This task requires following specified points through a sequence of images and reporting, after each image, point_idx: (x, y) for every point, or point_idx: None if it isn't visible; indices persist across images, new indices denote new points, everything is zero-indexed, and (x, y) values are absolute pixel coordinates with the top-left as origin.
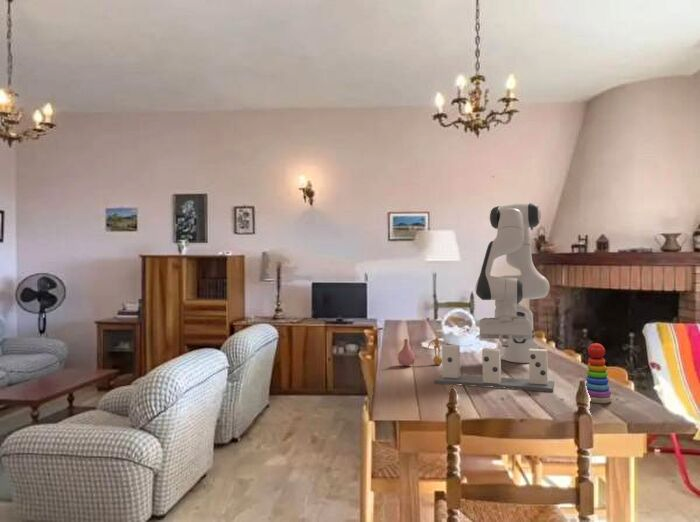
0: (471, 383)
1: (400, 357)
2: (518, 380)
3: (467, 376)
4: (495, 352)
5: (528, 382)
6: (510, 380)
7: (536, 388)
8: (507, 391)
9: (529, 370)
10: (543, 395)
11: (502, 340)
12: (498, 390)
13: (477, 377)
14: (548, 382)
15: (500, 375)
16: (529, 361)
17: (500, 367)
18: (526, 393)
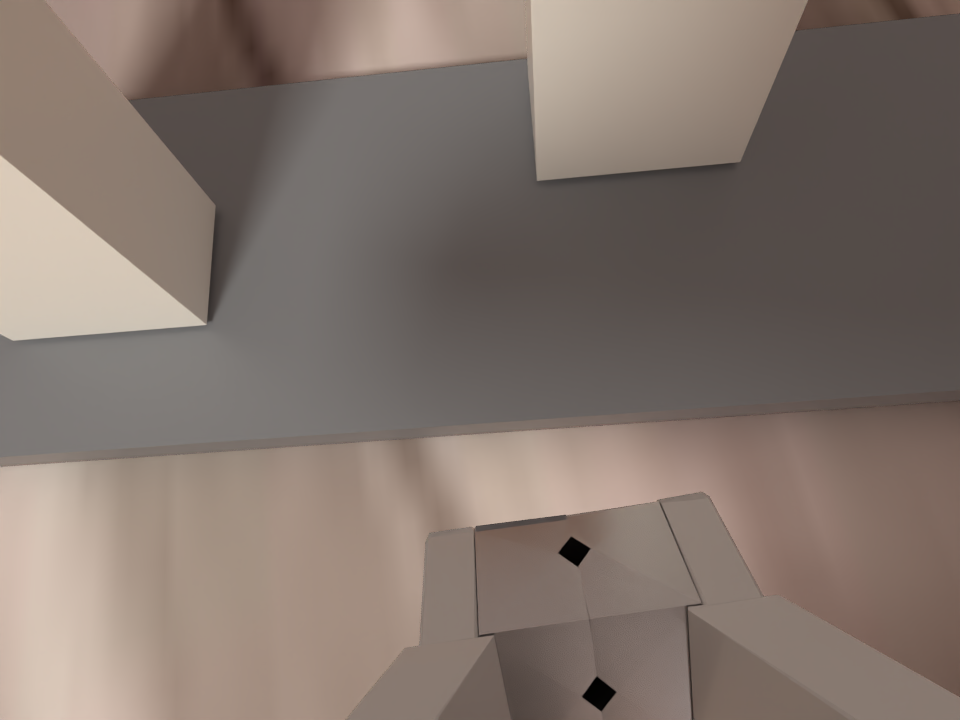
0: (842, 32)
1: None
2: (353, 327)
3: None
4: None
5: (232, 270)
6: (446, 290)
7: (155, 103)
8: (429, 4)
9: (133, 108)
10: (113, 5)
11: (738, 634)
12: (517, 4)
13: (894, 293)
14: (11, 358)
15: (531, 82)
16: (47, 11)
17: (529, 21)
18: (256, 8)
